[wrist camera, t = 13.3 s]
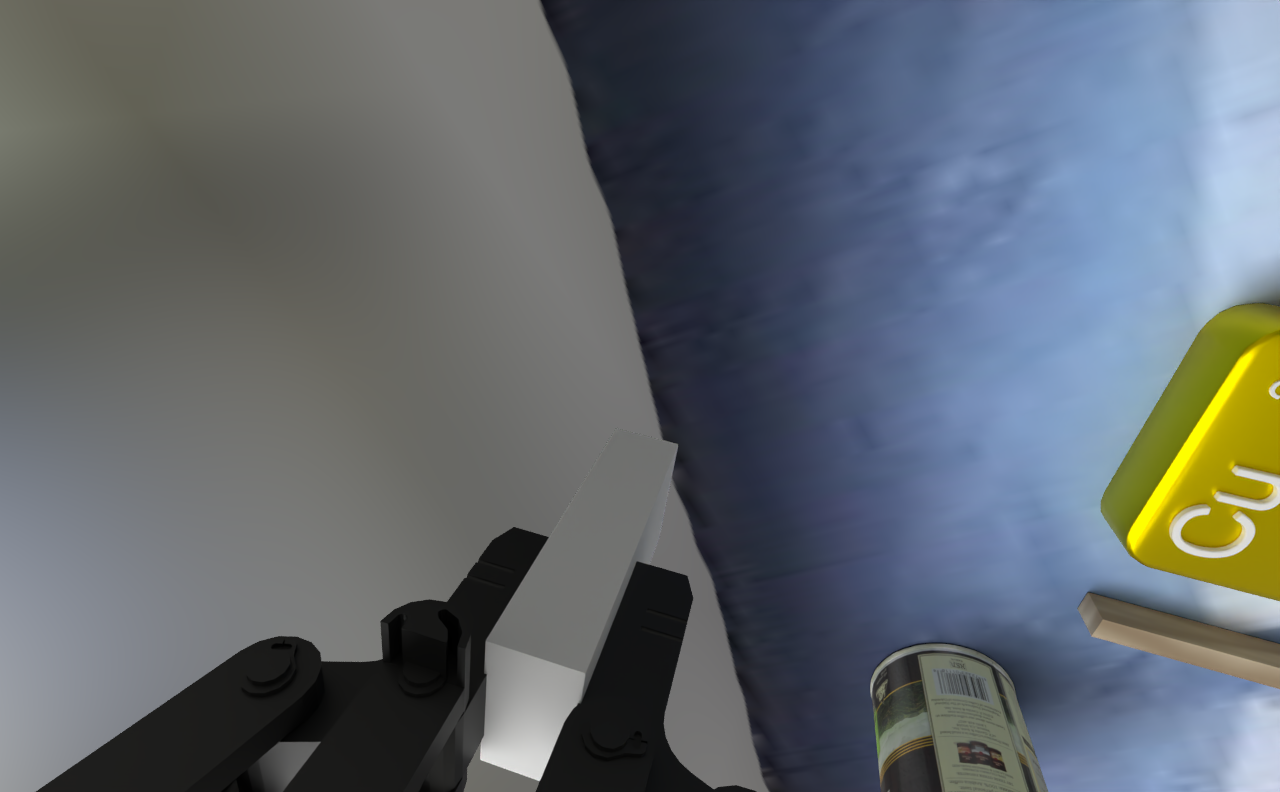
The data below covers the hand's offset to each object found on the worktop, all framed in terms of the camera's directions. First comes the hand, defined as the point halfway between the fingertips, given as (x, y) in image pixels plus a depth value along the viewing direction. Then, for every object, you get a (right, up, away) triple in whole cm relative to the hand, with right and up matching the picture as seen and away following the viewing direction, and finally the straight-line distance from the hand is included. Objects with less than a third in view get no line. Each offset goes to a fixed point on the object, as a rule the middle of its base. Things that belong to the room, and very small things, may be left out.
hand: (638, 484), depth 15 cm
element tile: (+37, -1, +21) cm, 42 cm away
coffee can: (+23, -21, +34) cm, 46 cm away
